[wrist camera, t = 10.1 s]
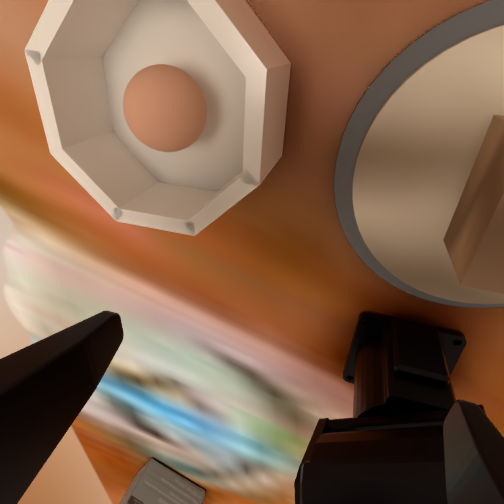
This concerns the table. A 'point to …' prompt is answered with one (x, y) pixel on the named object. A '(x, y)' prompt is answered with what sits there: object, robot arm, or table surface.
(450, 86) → the lid
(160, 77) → the ball
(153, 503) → the skincare box
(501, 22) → the mat
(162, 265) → the table surface
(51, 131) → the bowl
